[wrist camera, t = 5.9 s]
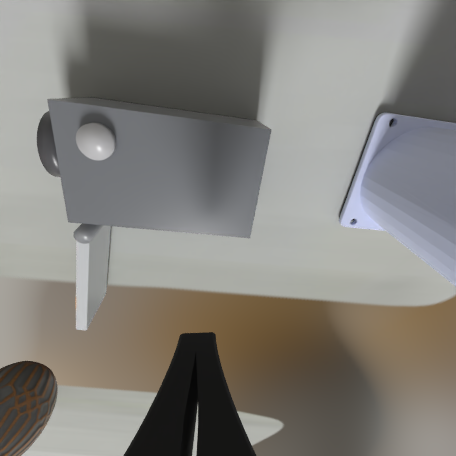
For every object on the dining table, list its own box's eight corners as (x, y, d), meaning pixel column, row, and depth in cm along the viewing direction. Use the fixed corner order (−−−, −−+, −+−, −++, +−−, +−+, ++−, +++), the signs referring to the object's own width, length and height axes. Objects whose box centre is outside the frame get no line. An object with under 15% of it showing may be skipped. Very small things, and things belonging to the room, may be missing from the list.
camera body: (256, 120, 16) (273, 130, 12) (241, 207, 19) (251, 242, 15) (67, 94, 15) (7, 94, 11) (81, 191, 18) (38, 224, 13)
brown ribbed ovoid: (41, 400, 29) (-23, 515, 21) (-20, 371, 26) (-120, 491, 18) (83, 374, 27) (31, 489, 19) (22, 340, 24) (-67, 458, 16)
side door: (107, 293, 22) (88, 330, 18) (90, 290, 21) (67, 327, 18) (114, 204, 18) (92, 230, 15) (93, 200, 18) (65, 225, 14)
